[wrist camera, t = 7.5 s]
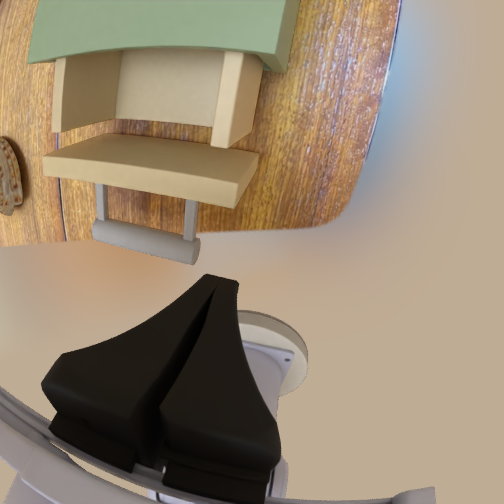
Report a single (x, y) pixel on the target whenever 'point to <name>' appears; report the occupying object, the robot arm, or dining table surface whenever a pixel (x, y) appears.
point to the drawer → (157, 149)
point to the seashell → (9, 179)
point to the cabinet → (164, 27)
